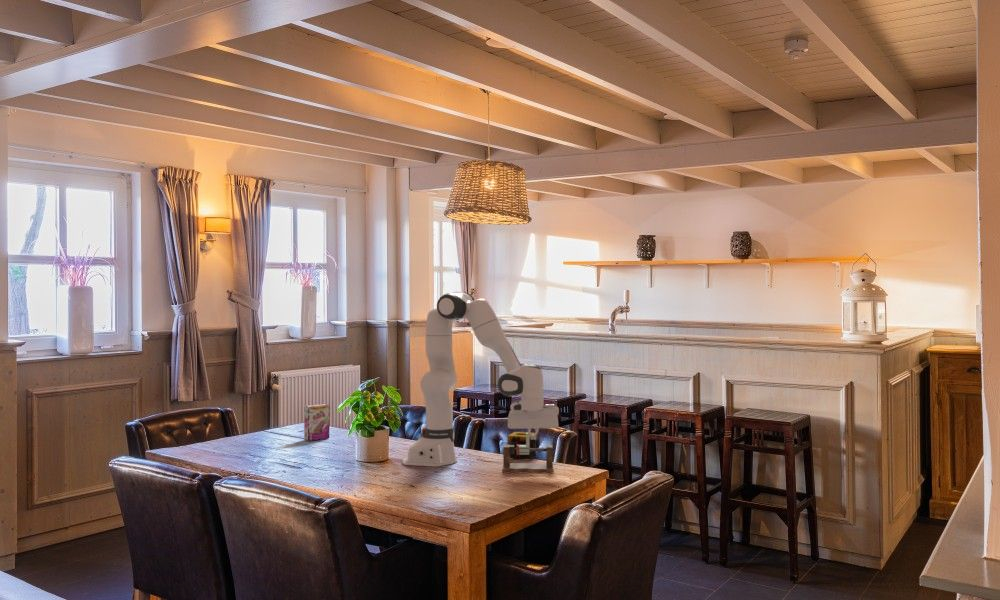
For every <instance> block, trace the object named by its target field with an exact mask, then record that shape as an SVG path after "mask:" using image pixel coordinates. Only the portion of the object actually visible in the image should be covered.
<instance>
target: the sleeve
mask: <svg viewBox="0 0 1000 600" xmlns="http://www.w3.org/2000/svg"><path fill="white" fill-rule="evenodd" d="M519 448H529V433H528V431H527V432H526V445H519ZM519 455H529V449H519Z"/></svg>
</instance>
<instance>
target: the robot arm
mask: <svg viewBox="0 0 1000 600" xmlns="http://www.w3.org/2000/svg"><path fill="white" fill-rule="evenodd" d="M461 319H465V320H467V321H468V323H469V324H470V326H471V329H472V331H473V334H474V336H475V338H476V339H477V340H478V342H479V344H480V345H481V346H484V347H485V348H488V349H489V350H492V351H493V352H495V353H496V355H498V357H499V359H500V361H501V363H502V364H503V367H504V368H505V371H506V373H503V374H501V376H500V377H499V378H498V380H497V389H498V392H499V393H501V395H503V396H505V397H515V396H517V395H520V398H521V399H520V400H518V401H515V402H513V403H511V404H510V410H509V413H508V416H507V417H508V418H507V428H508V429H511V430H520V429H522V430H524V429H527V432H528V433H529V434H530V436H531V440H537V435H538V433H539V431H540V429H557V428H558V427H559V417H558V416H559V413H560V408H559V407H558V406H557V405H555V403H554V404H544V400H545V399H544V393H543V388H544V377H543V370H542V368H541V367H540V366H539V365H538V364H534V363H523V364H521V362H520V361H519V359H518V356H517V355H516V353H515V351H514V349H513V347H512V345H511V344H510V342H509V340H508V338H507V337H506V335H505V333H504V330H503V328H502V325H501V324H500V321H499V319H498V317H497V315H496V313H495V311H494V309H493V308H492V306H491V305H490V303H489V302H488V301H487V299H485V298H477V299H475V297H474V296H473V295H472V294H470V293H468V292H465V291H453V292H448V293H445V294H443V295H441V296H440V297H439V298H438V300H437V303H436V307H435V308H433V309H432V310H430V311H428V313H427V318H426V324H425V356H426V357H427V361H428V364H429V365H428V366H429V371H427V372H426V373H425V374H424V375H423V376H422V378H421V379H420V383H419V386H420V389H421V391H422V395H423V400H424V405H425V413H426V414H425V419H426V420H425V422H426V423H425V424H426V425H425V426H426V427H425V426H424V427H422V428H421V437H420V438H419V439H417V440H416V441H415V442H414V443H412V445H410V446H409V448H408V452H407V456H405V457H404V458H403V459H402V462H401V463H402V464H403V465H404V466H417V467H418V466H419V467H420V466H421V467H434V468H435V467H437V468H438V467H443V466H447V465H452V464H455V463H457V462H458V459H457V455H456V452H455V444H454V441H455V427H454V421H453V420H454V419H453V418H454V417H453V416H454V413H453V412H454V411H453V407H452V403H451V399H450V392H451V391H452V390H453V389H454V388H455V387H456V386H457V382H458V375H457V373H456V369H455V367H456V366H455V362H454V356H453V354H454V352H453V324H454V322H456V321H459V320H461ZM532 429H535V430H534V431H535V432H534V433H535V435H532V433H533V432H531V431H532Z"/></svg>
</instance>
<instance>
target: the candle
mask: <svg viewBox="0 0 1000 600" xmlns="http://www.w3.org/2000/svg"><path fill="white" fill-rule="evenodd" d="M531 433H532V435H535V433H536V432H531ZM536 440H537V439H536ZM536 440H531V436H530V434H529V448H537V445H536V444H537V443H536V442H537V441H536ZM507 445H514V448H517V445H526V432H525V431H524V432H523V431H514V432H512V433H510V434H509V435H507ZM536 456H537V451H529V455H517V451H514V454H510V458H513V459H512V460H521V459H529V460H528V461H530V460H532V459H533V458H534V457H536Z"/></svg>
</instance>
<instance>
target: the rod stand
mask: <svg viewBox="0 0 1000 600" xmlns="http://www.w3.org/2000/svg"><path fill="white" fill-rule="evenodd" d="M502 448H503V451H502V452H503V453H502V455H503V458H502V459H503V462H502V463H503V465H502V472H547V473H546V474H551V473H550V472H554V471H555V470H554V461H553V459H554V458H553V456H554V455H553V453H554V451H553V449H554V447H553V444H546V447H545V448H544V447H542V448H540V447H539V448H537V447H536V448H519V445H517V448H514V445H508V444H503V446H502ZM519 449H529V451H536V452H546V460H545V461H546V462H545V463H544V462H543V463H542V462H540V463H539V462H538V463H537V462H530V463H529V462H521V463H520V462H511V459H510V454H514V451H517V455H519Z"/></svg>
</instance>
